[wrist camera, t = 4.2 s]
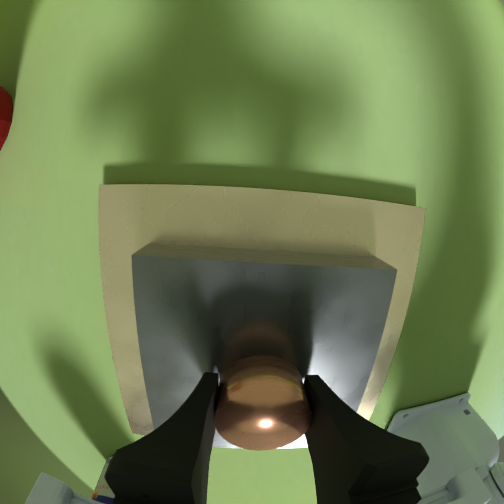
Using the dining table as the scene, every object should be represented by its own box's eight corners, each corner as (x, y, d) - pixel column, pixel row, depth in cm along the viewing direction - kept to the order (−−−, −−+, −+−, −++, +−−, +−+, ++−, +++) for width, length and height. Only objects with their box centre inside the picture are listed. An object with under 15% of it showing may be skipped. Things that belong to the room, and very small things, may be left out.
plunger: (294, 317, 16) (320, 388, 10) (286, 372, 17) (302, 449, 11) (224, 314, 16) (214, 387, 10) (222, 370, 17) (215, 448, 11)
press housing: (416, 206, 15) (452, 213, 12) (357, 430, 19) (369, 460, 16) (107, 184, 14) (74, 186, 11) (135, 424, 18) (123, 455, 15)
